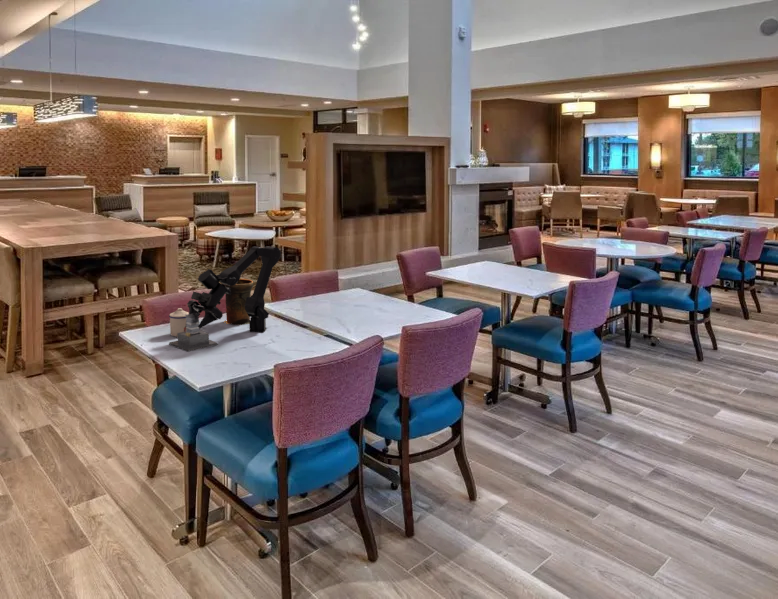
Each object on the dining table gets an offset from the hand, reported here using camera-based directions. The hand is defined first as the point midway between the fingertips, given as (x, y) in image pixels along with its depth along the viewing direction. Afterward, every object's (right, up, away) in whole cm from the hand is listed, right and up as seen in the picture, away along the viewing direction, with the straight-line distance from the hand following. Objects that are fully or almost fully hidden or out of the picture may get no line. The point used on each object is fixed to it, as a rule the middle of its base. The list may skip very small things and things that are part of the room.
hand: (192, 325), depth 260 cm
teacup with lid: (-11, -4, +19) cm, 22 cm away
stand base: (0, -8, +2) cm, 8 cm away
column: (0, -7, +2) cm, 7 cm away
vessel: (+9, 0, +42) cm, 43 cm away
